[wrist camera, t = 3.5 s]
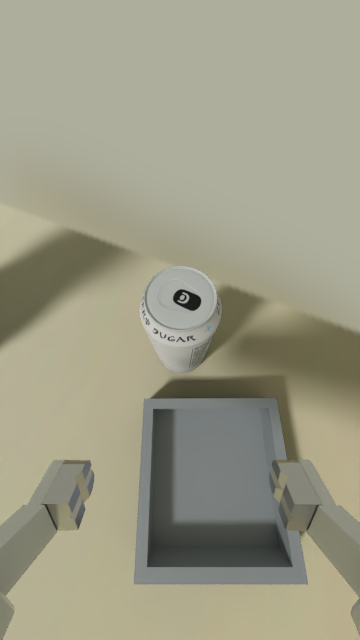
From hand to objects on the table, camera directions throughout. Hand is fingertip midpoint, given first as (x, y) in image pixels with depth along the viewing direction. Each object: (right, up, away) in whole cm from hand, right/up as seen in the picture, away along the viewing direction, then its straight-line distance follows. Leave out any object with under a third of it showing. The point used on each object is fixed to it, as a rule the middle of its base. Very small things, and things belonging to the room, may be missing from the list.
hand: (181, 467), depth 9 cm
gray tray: (+3, -9, +13) cm, 17 cm away
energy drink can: (0, +2, +18) cm, 19 cm away
